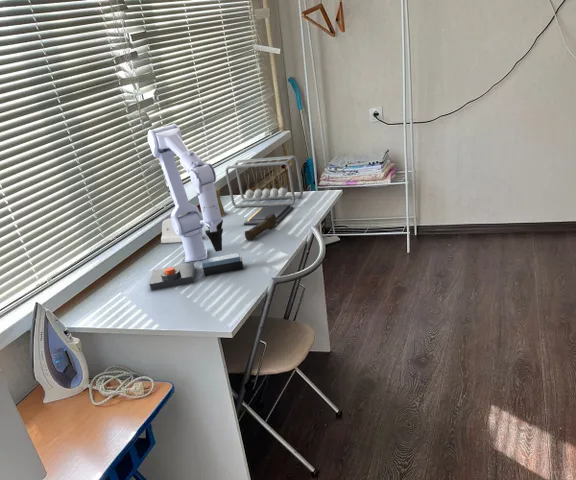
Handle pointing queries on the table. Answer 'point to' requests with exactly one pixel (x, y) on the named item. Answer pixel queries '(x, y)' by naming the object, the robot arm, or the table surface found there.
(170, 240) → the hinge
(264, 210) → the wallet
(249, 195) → the newton's cradle
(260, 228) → the hand tool
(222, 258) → the black and grey bar
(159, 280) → the control box
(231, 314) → the table surface
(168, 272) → the button
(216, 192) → the cork
